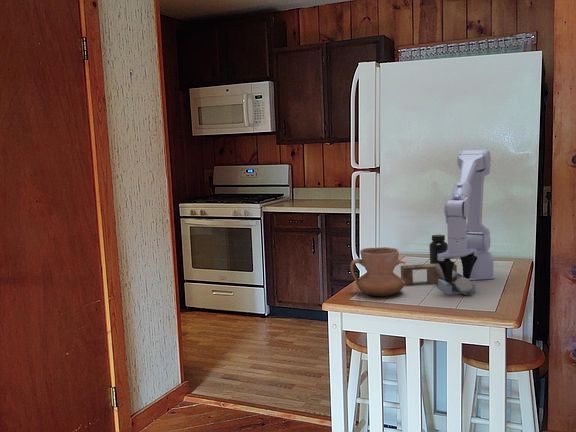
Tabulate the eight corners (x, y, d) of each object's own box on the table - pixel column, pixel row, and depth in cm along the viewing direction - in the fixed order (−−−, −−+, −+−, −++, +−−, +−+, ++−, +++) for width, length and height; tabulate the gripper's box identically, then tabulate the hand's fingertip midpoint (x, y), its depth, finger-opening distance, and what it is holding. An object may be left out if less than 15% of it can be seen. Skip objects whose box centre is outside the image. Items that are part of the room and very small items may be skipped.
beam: (452, 279, 189) (452, 262, 188) (456, 282, 185) (456, 264, 184) (401, 282, 188) (400, 265, 187) (404, 285, 184) (403, 268, 183)
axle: (444, 276, 184) (448, 264, 183) (472, 295, 169) (476, 282, 168) (433, 274, 182) (437, 262, 181) (460, 294, 168) (464, 281, 167)
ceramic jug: (410, 288, 180) (409, 246, 179) (404, 300, 167) (402, 255, 165) (356, 286, 187) (355, 245, 185) (346, 298, 173) (344, 253, 171)
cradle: (464, 285, 180) (464, 277, 179) (475, 293, 171) (475, 284, 171) (438, 287, 179) (438, 279, 179) (447, 294, 171) (447, 286, 170)
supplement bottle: (450, 265, 211) (450, 234, 209) (445, 268, 205) (444, 237, 203) (433, 263, 214) (432, 233, 213) (427, 267, 209) (426, 236, 207)
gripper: (465, 233, 178) (465, 274, 180) (430, 238, 172) (431, 281, 174) (481, 236, 172) (481, 278, 174) (446, 241, 166) (447, 285, 167)
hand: (457, 280), depth 173 cm, fingers open, 7 cm apart
